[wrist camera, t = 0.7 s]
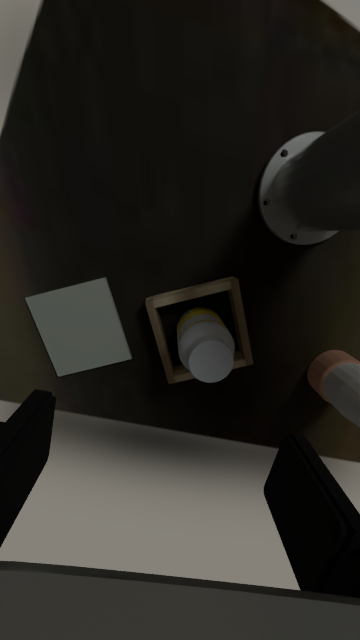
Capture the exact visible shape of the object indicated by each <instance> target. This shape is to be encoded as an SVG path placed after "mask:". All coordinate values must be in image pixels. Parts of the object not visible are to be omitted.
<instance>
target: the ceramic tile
mask: <svg viewBox="0 0 360 640" xmlns="http://www.w3.org/2000/svg"><path fill="white" fill-rule="evenodd" d="M25 299H26V302H27V304H28V306H29V309H30V311H31V314H32V316H33V318H34V321H35V323H36V325H37V328H38V330H39V332H40V335H41V337H42V340H43V342H44V344H45V347H46V349H47V351H48V354H49V356H50V358H51V361H52V363H53V366H54V368H55V370H56V373H57V375H58V377H59V376H63V375H68V374H72V373H76V372H80V371H84V370H88V369H92V368H96V367H101V366H105V365H109V364H113V363H117V362H121V361H125V360H129V359H132V356H131V353H130V350H129V347H128V343H127V340H126V337H125V334H124V331H123V328H122V325H121V322H120V319H119V316H118V313H117V310H116V307H115V303H114V300H113V297H112V294H111V291H110V288H109V285H108V282H107V279H106V277H104V278H101V279H97V280H93V281H89V282H85V283H81V284H77V285H73V286H69V287H65V288H61V289H57V290H53V291H49V292H45V293H41V294H37V295H34V296H30V297H26V298H25Z"/></svg>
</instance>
